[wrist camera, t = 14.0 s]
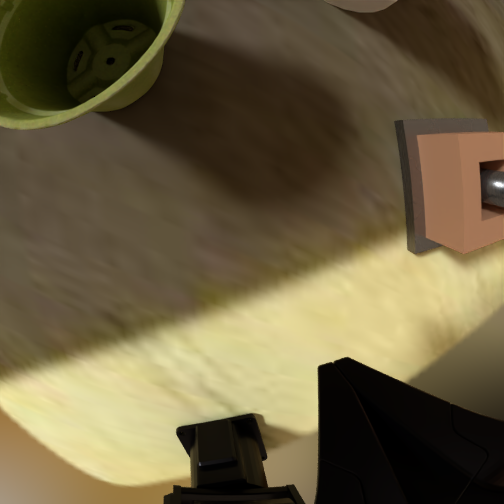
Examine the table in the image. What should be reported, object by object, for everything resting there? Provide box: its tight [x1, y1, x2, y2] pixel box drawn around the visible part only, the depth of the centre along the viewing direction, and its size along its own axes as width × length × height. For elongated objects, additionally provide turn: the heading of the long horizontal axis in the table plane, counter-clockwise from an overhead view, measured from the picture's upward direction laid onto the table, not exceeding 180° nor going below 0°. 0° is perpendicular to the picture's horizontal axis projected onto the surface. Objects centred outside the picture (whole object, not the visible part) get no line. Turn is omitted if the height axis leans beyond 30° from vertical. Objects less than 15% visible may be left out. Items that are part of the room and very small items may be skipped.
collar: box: [417, 132, 504, 254], centre depth 17 cm, size 7×7×4 cm
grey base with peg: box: [395, 119, 504, 254], centre depth 17 cm, size 9×9×6 cm
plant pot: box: [0, 0, 185, 130], centre depth 11 cm, size 9×9×9 cm
